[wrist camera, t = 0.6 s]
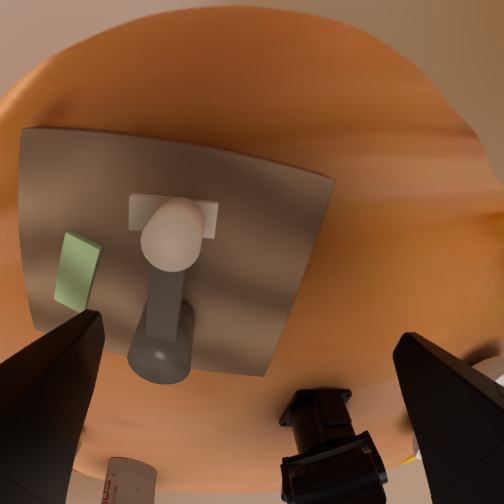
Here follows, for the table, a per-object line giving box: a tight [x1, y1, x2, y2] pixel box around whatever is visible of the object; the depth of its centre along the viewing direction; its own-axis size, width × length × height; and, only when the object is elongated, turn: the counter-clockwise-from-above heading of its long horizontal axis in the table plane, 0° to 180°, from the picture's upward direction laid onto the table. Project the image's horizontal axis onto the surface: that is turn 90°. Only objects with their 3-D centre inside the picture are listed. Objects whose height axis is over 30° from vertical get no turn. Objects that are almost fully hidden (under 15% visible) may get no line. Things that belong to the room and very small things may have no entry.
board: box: [18, 127, 335, 377], centre depth 18 cm, size 16×20×3 cm
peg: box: [127, 197, 205, 384], centre depth 15 cm, size 10×4×4 cm, turn 166°
